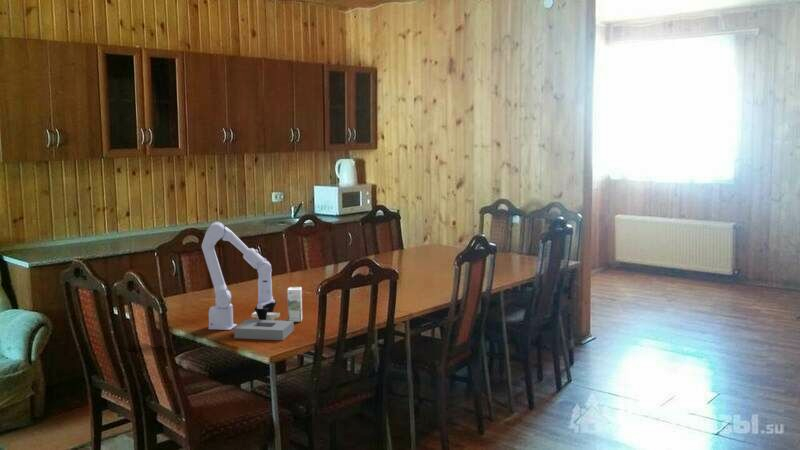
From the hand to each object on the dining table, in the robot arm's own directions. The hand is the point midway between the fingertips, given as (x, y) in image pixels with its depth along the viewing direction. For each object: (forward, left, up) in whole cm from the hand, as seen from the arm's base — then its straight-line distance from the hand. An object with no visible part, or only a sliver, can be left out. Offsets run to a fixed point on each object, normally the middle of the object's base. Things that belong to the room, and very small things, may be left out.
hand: (265, 321), depth 306 cm
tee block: (0, 0, -2) cm, 2 cm away
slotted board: (+4, -13, -2) cm, 14 cm away
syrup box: (+10, +9, -2) cm, 14 cm away
